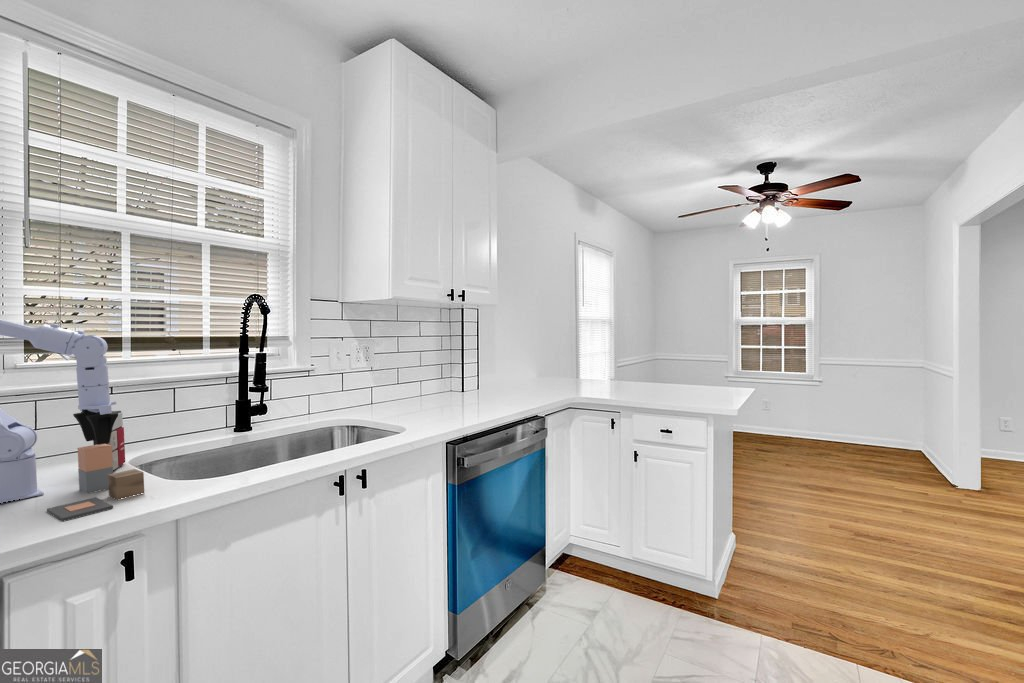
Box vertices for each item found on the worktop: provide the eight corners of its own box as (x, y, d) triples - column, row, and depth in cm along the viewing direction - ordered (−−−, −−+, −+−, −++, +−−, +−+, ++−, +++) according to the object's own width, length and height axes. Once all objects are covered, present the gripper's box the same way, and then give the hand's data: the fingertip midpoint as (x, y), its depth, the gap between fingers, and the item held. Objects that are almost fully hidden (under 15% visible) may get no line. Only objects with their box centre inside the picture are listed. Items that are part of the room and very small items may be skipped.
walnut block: (109, 496, 111) (107, 474, 111) (135, 490, 115) (134, 468, 115) (117, 500, 108) (116, 477, 108) (144, 494, 112) (143, 472, 112)
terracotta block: (78, 469, 116) (77, 447, 116) (105, 464, 120) (104, 443, 120) (86, 472, 113) (85, 450, 113) (112, 466, 117) (111, 445, 117)
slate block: (79, 490, 116) (78, 469, 116) (105, 484, 120) (104, 464, 120) (86, 494, 113) (85, 472, 113) (113, 487, 117) (112, 466, 117)
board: (46, 511, 102) (46, 507, 102) (95, 499, 109) (95, 496, 109) (62, 521, 96) (62, 517, 96) (112, 508, 103) (112, 504, 103)
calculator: (112, 473, 129) (109, 416, 129) (91, 476, 128) (88, 417, 127) (127, 463, 139) (124, 410, 139) (108, 465, 138) (105, 411, 137)
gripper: (125, 384, 118) (129, 441, 118) (103, 382, 126) (107, 435, 127) (87, 388, 112) (92, 448, 113) (66, 386, 120) (71, 441, 121)
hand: (97, 442), depth 119 cm, fingers open, 7 cm apart
